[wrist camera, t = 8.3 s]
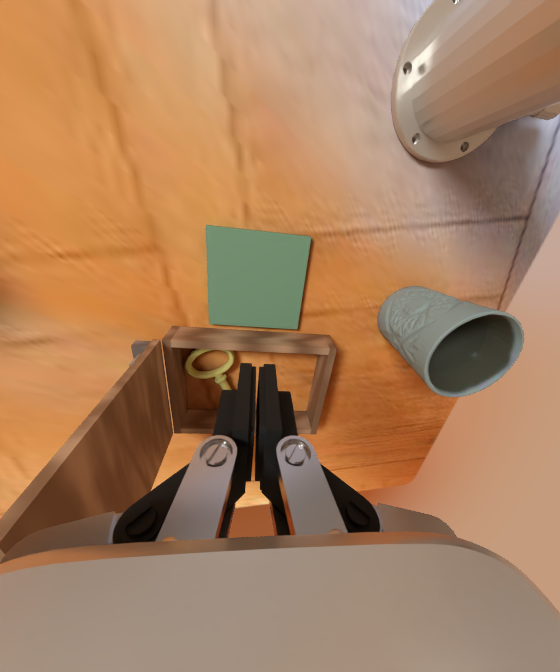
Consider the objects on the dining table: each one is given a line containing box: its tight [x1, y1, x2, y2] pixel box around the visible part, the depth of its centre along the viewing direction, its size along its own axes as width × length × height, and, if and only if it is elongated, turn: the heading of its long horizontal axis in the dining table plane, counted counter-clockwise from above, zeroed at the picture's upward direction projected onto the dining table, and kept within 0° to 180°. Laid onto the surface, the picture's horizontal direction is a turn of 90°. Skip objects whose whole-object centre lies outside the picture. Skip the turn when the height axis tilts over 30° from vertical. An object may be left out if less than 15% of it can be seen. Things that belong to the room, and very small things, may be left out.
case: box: [0, 326, 337, 562], centre depth 26 cm, size 25×16×25 cm, turn 84°
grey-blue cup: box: [378, 286, 524, 397], centre depth 29 cm, size 10×10×12 cm
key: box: [185, 349, 235, 390], centre depth 35 cm, size 7×12×2 cm, turn 40°
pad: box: [206, 225, 311, 329], centre depth 30 cm, size 12×12×1 cm
